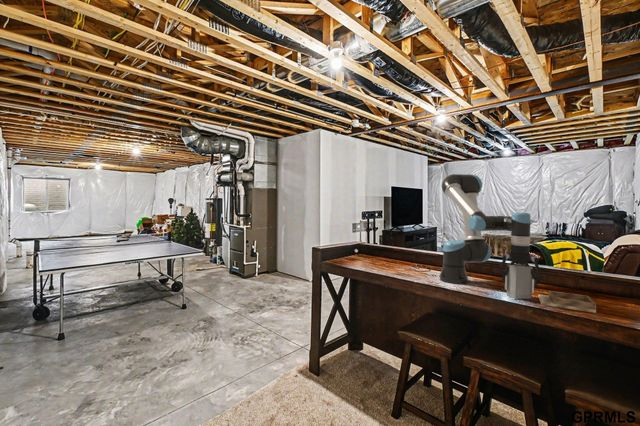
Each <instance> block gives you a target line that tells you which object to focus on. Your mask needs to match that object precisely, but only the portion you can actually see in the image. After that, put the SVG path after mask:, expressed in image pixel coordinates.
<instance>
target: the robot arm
mask: <svg viewBox="0 0 640 426" xmlns="http://www.w3.org/2000/svg"><path fill="white" fill-rule="evenodd" d="M482 188H483V182H482V180H481V178H480V177H479V176H478V175H475V174H472V173H471V174H470V173H468V174H463V173H462V174H458V173H456V174H455V173H454V174H449V175H447V176H446V177H445V178H444V179H443V180H442V183H441V190H442V192H443V193H444V195H445V196H446V197H448V198H450V199H451V200H452V201H453V203H454V204H455V205H456V206H457V207H458V208H459V210H460V211H461V212H462V218H463V219H462V220H463V226H464V234H465V238H464V239H463V240H462V239H461V240H460V239H458V240H457V239H456V240H455V239H452V240H448V241H445V242H444V243H443V247H442V255H443V256H442V258H443V260H442V261H443V263H442V268H441V271H440V274H439V280H440V281H442V282H444V283H448V284H458V285H459V284H462V285H463V284H468V283H469V278H468V274H467V272H466V264H467V263H476V264H477V263H485V262H487V261H489V260H490V258H491V256H492V252H493V251H492V246H491V245H490V244H489V243H488V242H486V238H484V237H483V236H482V232H484V231H485V232H487V231H489V232H491V231H492V232H493V231H496V232H497V231H498V232H499V231H501V232H502V231H505V232H510V243H511V245H510V253H509V254H506V253H505V254H503V255H502V261H501V264H500V265H499V269H498V273H497V274H498V275H500V276H502V283H504V290H506V291H507V273H508V271H509V266H508V265H507V266H508V267H506V268H505V269H504V267H505V264H506V262H507V260H508V259H510V260H511V262H510V263H509V264H510V265H514V264H522V265H524V264H525V265H526V267H530V266H531V265H530V264H529V263H528V262H530V260H531V261H532V262H533V263H534V267H535V270H536V274H537V275H536V274H535V272H534V269H531V274H532V294H534V293H535V287H537V286H538V280H542V279H543V276H542V275H543V274H542V273H541V272H542V271H541V269H540V267H539V262H538V261H539V258H538V257H537V256H531V253H530V251H531V250H530V249H531V247H530V245H531V225H532V224H531V223H532V221H531V220H532V219H531V213H528V212H512V213H511V216H508V215H486V214H485V213H484V212H483V211H482V210H481V209H480V208H479V206H478V200H477V198H478V196H479V195H480V192H481V191H482ZM503 269H504V271H503Z"/></svg>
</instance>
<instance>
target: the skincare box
mask: <svg viewBox="0 0 640 426" xmlns="http://www.w3.org/2000/svg"><path fill="white" fill-rule="evenodd" d="M508 266H509V271H508V273H507V274H506V275H507V290H506V295H507V296H508V297H509V298H512V299H514V300H529V299H532V294H533V293H532V278H533V276H532V274H531V269H532V270H534V269H533V266H531V265H529V266H530V267H526V265H525V264H524V265H522V264H514V265H510V263H507V267H508ZM507 267H506V268H507Z"/></svg>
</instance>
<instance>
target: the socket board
mask: <svg viewBox="0 0 640 426" xmlns="http://www.w3.org/2000/svg"><path fill="white" fill-rule="evenodd" d="M537 297H538V299H539V302H540V305H543V306H548V307H555V308H561V309H569V310H575V311H581V312H589V313H594V314H596V313H597V303H596V302H595V301H594V300H593V299H592V298H591V297H590V296H589V295H584V294H577V293H569V292H568V293H567V292H563V291H562V292H561V291H553V290H548V295H546V294H537Z"/></svg>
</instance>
